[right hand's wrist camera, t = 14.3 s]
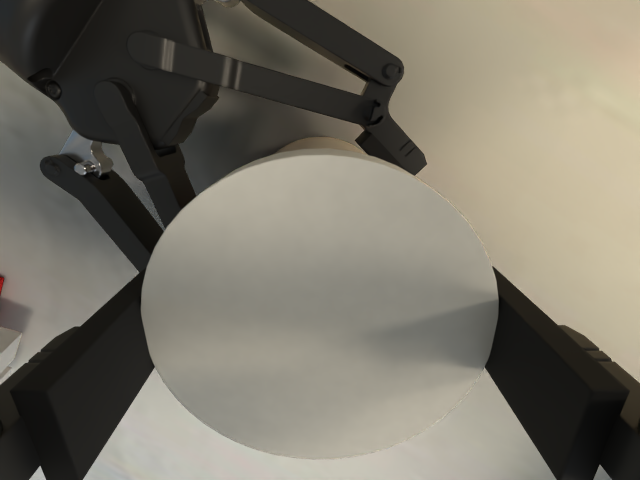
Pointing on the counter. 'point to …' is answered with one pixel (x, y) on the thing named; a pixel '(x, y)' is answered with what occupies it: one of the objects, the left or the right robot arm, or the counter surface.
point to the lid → (319, 305)
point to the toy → (7, 347)
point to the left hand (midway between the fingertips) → (372, 284)
